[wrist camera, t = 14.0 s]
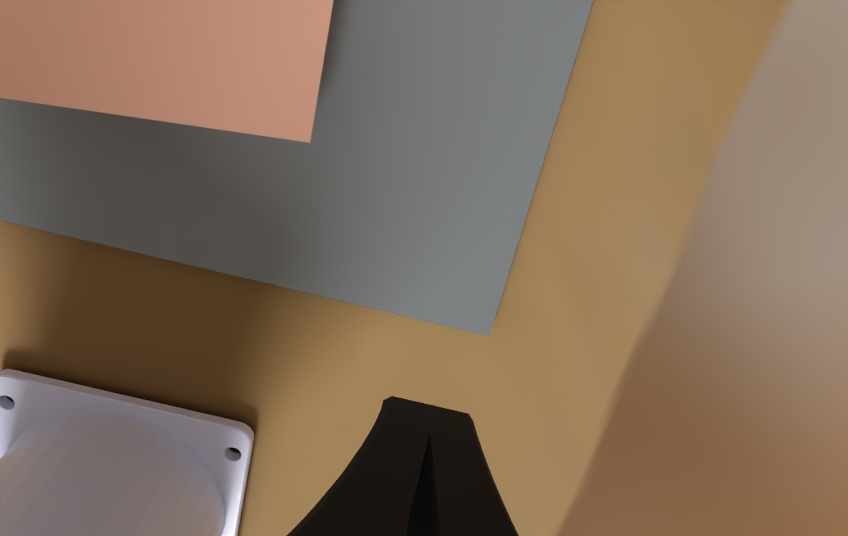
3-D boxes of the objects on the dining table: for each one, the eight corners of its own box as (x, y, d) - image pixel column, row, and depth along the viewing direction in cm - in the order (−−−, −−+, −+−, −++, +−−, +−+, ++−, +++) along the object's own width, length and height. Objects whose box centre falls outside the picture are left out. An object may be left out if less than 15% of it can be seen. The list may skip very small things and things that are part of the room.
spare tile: (309, 142, 19) (-98, 83, 17) (305, 120, 20) (-71, 63, 18) (342, -55, 17) (-114, -152, 15) (335, -65, 18) (-83, -155, 16)
